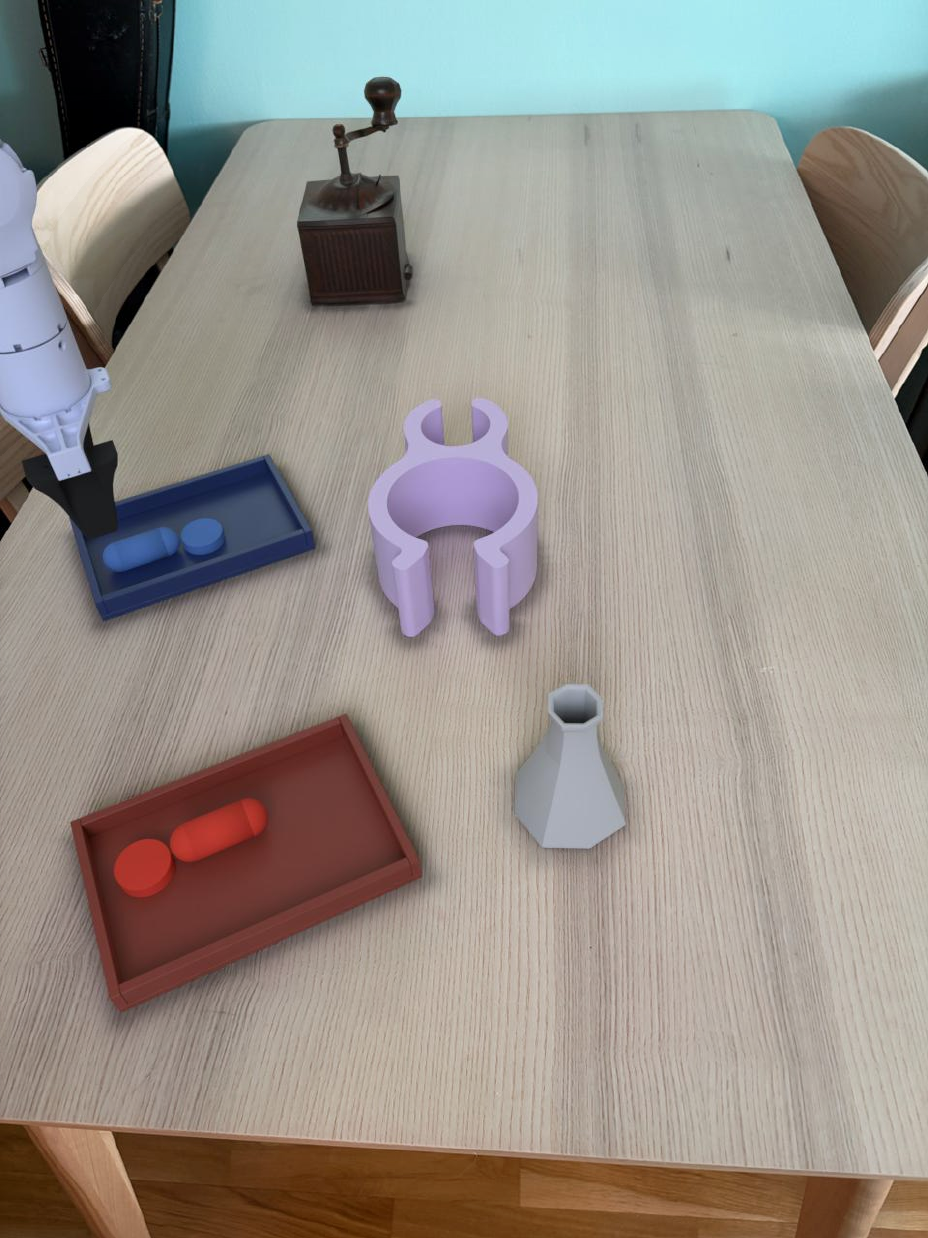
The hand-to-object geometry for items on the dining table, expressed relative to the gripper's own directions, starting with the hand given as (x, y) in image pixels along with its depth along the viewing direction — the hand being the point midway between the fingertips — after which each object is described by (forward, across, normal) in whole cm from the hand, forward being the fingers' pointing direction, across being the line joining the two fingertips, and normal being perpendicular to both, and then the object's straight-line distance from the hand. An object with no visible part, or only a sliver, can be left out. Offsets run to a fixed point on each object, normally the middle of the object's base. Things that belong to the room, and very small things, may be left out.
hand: (92, 500), depth 69 cm
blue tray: (+9, +4, -6) cm, 12 cm away
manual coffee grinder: (+10, +39, -35) cm, 53 cm away
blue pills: (+9, +2, -4) cm, 10 cm away
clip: (+10, -7, -25) cm, 28 cm away
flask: (+10, -32, -21) cm, 39 cm away
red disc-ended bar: (+9, -25, +1) cm, 27 cm away
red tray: (+9, -26, -2) cm, 28 cm away
